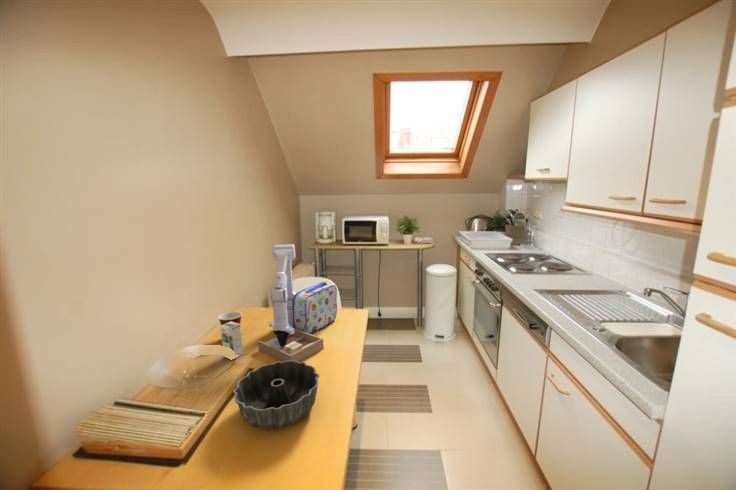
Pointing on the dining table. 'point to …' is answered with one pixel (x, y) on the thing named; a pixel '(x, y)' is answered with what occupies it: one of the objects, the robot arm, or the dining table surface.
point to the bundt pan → (277, 394)
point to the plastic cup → (230, 317)
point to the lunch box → (314, 307)
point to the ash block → (293, 347)
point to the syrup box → (232, 337)
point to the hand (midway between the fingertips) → (283, 345)
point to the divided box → (307, 340)
